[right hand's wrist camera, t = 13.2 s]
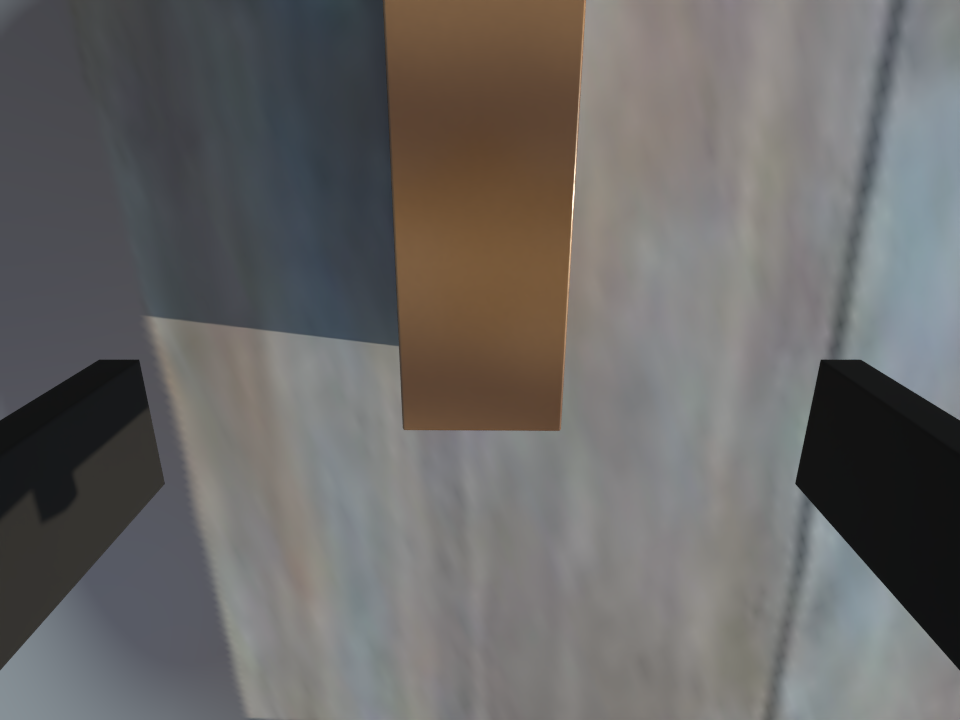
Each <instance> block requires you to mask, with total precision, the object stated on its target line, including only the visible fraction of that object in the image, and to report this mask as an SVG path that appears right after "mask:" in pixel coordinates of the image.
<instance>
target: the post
mask: <svg viewBox="0 0 960 720" xmlns="http://www.w3.org/2000/svg"><path fill="white" fill-rule="evenodd" d="M585 7H586V0H383V13H384V34H385V56H386V77H387V99H388V120H389V141H390V163H391V184H392V206H393V227H394V248H395V270H396V291H397V313H398V334H399V355H400V377H401V398H402V420H403V429H404V430H528V431H559V430H560V429H561V416H562V399H563V382H564V365H565V348H566V331H567V314H568V297H569V280H570V263H571V246H572V229H573V212H574V195H575V178H576V161H577V143H578V126H579V109H580V92H581V75H582V58H583V41H584V24H585Z"/></svg>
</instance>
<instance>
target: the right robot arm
mask: <svg viewBox="0 0 960 720" xmlns="http://www.w3.org/2000/svg"><path fill="white" fill-rule="evenodd" d="M164 484H165V483H164V478H163V473H162V468H161V463H160V459H159V454H158V449H157V444H156V439H155V434H154V430H153V425H152V420H151V415H150V410H149V405H148V401H147V396H146V391H145V386H144V381H143V376H142V372H141V367H140V362H139V360H98V361H97V362H95V363H93V364H92V365H90V366H88V367H87V368H85V369H83V370H82V371H80V372H79V373H77V374H75V375H74V376H72V377H70V378H69V379H67V380H65V381H64V382H62V383H61V384H59V385H57V386H56V387H54V388H53V389H51V390H49V391H48V392H46V393H44V394H43V395H41V396H39V397H38V398H36V399H35V400H33V401H31V402H30V403H28V404H26V405H25V406H23V407H22V408H20V409H18V410H17V411H15V412H13V413H12V414H10V415H8V416H7V417H5V418H4V419H2V420H0V670H1V669H2V668H3V666H4V665H5V664H6V663H7V662H8V661H9V660H10V659H11V657H12V656H13V655H14V654H15V653H16V652H17V651H18V650H19V648H20V647H21V646H22V645H23V644H24V643H25V642H26V640H27V639H28V638H29V637H30V636H31V635H32V634H33V633H34V631H35V630H36V629H37V628H38V627H39V626H40V625H41V623H42V622H43V621H44V620H45V619H46V618H47V617H48V616H49V614H50V613H51V612H52V611H53V610H54V609H55V608H56V606H57V605H58V604H59V603H60V602H61V601H62V600H63V598H64V597H65V596H66V595H67V594H68V593H69V592H70V591H71V589H72V588H73V587H74V586H75V585H76V584H77V583H78V581H79V580H80V579H81V578H82V577H83V576H84V575H85V574H86V572H87V571H88V570H89V569H90V568H91V567H92V566H93V564H94V563H95V562H96V561H97V560H98V559H99V558H100V557H101V555H102V554H103V553H104V552H105V551H106V550H107V549H108V547H109V546H110V545H111V544H112V543H113V542H114V541H115V539H116V538H117V537H118V536H119V535H120V534H121V533H122V532H123V530H124V529H125V528H126V527H127V526H128V525H129V524H130V523H131V521H132V520H133V519H134V518H135V517H136V516H137V514H138V513H139V512H140V511H141V510H142V509H143V508H144V507H145V506H146V504H147V503H148V502H149V501H150V500H151V499H152V498H153V496H154V495H155V494H156V493H157V492H158V491H159V490H160V489H161V487H162V486H163V485H164ZM795 484H796V485H797V486H798V487H799V489H800V490H801V491H802V492H803V493H804V494H805V495H806V496H807V498H808V499H809V500H810V501H811V502H812V503H813V504H814V506H815V507H816V508H817V509H818V510H819V511H820V512H821V513H822V515H823V516H824V517H825V518H826V519H827V520H828V521H829V523H830V524H831V525H832V526H833V527H834V528H835V529H836V530H837V532H838V533H839V534H840V535H841V536H842V537H843V538H844V540H845V541H846V542H847V543H848V544H849V545H850V546H851V547H852V549H853V550H854V551H855V552H856V553H857V554H858V555H859V557H860V558H861V559H862V560H863V561H864V562H865V563H866V564H867V566H868V567H869V568H870V569H871V570H872V571H873V572H874V574H875V575H876V576H877V577H878V578H879V579H880V580H881V581H882V583H883V584H884V585H885V586H886V587H887V588H888V589H889V591H890V592H891V593H892V594H893V595H894V596H895V597H896V599H897V600H898V601H899V602H900V603H901V604H902V605H903V606H904V608H905V609H906V610H907V611H908V612H909V613H910V614H911V616H912V617H913V618H914V619H915V620H916V621H917V622H918V623H919V625H920V626H921V627H922V628H923V629H924V630H925V631H926V633H927V634H928V635H929V636H930V637H931V638H932V639H933V640H934V642H935V643H936V644H937V645H938V646H939V647H940V648H941V650H942V651H943V652H944V653H945V654H946V655H947V656H948V657H949V659H950V660H951V661H952V662H953V663H954V664H955V665H956V667H957V668H958V669H959V670H960V420H958V419H956V418H955V417H953V416H952V415H950V414H948V413H947V412H945V411H943V410H942V409H940V408H939V407H937V406H935V405H934V404H932V403H930V402H929V401H927V400H925V399H924V398H922V397H921V396H919V395H917V394H916V393H914V392H912V391H911V390H909V389H908V388H906V387H904V386H903V385H901V384H899V383H898V382H896V381H895V380H893V379H891V378H890V377H888V376H886V375H885V374H883V373H881V372H880V371H878V370H877V369H875V368H873V367H872V366H870V365H868V364H867V363H865V362H864V361H862V360H821V362H820V367H819V371H818V376H817V381H816V386H815V391H814V396H813V401H812V405H811V410H810V415H809V420H808V425H807V430H806V434H805V439H804V444H803V449H802V454H801V459H800V463H799V468H798V473H797V478H796V483H795Z"/></svg>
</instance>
